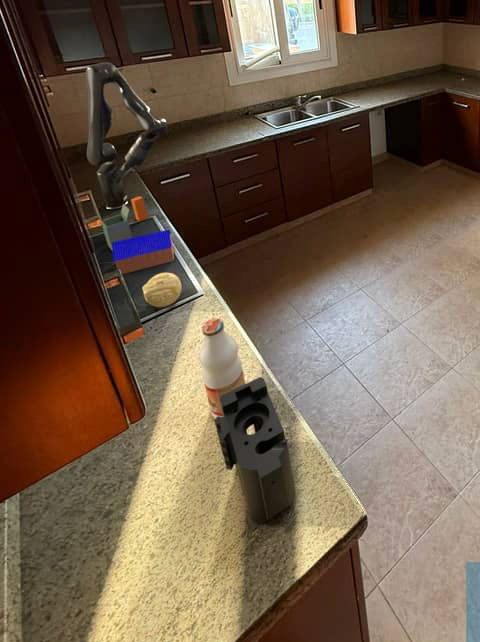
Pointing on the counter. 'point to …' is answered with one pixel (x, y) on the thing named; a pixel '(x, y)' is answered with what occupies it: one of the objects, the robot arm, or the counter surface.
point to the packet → (139, 208)
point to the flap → (125, 211)
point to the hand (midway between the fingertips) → (120, 179)
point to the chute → (116, 229)
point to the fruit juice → (219, 364)
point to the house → (143, 251)
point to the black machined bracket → (256, 449)
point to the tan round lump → (162, 289)
